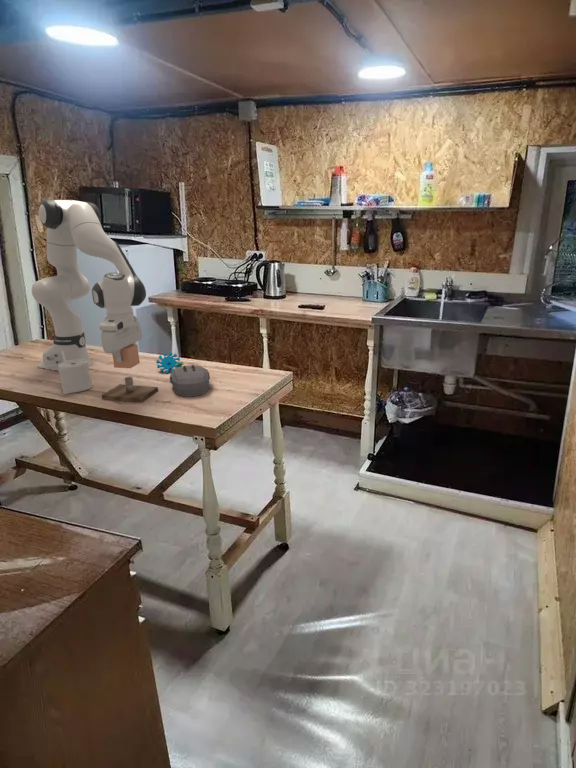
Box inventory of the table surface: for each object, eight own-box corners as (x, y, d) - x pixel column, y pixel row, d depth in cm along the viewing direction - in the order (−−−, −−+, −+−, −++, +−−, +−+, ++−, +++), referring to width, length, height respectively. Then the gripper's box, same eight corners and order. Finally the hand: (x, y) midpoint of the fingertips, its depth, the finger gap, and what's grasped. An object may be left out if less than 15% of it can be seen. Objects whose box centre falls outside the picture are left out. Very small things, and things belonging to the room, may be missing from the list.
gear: (153, 370, 203) (158, 349, 208) (155, 377, 209) (160, 356, 213) (180, 373, 204) (184, 352, 208) (182, 380, 209) (186, 359, 214)
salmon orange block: (114, 367, 176) (111, 348, 174) (124, 362, 182) (121, 343, 180) (130, 368, 175) (127, 349, 172) (139, 363, 181) (137, 344, 178)
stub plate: (102, 399, 179) (99, 382, 176) (120, 387, 190) (117, 371, 187) (141, 402, 175) (139, 385, 173) (158, 390, 186) (156, 374, 184)
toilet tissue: (91, 381, 197) (88, 357, 193) (92, 391, 186) (88, 366, 183) (62, 385, 193) (58, 361, 190) (61, 395, 183) (56, 370, 179)
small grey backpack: (169, 382, 195) (172, 400, 177) (167, 362, 192) (170, 378, 174) (208, 378, 199) (214, 396, 180) (206, 359, 196) (212, 374, 178)
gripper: (128, 314, 183) (133, 350, 188) (96, 326, 164) (102, 366, 169) (144, 314, 182) (148, 350, 186) (112, 327, 163) (118, 367, 168)
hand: (126, 358), depth 177 cm, fingers closed on salmon orange block, 6 cm apart
